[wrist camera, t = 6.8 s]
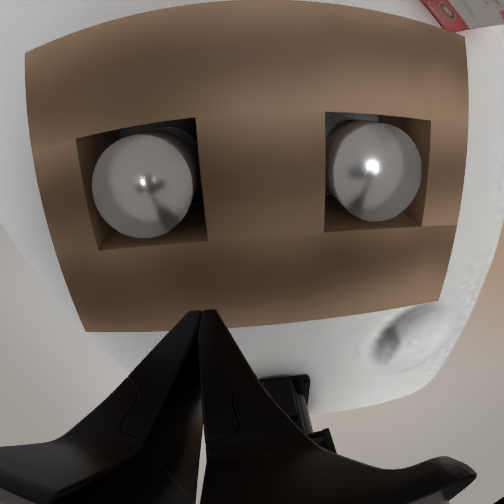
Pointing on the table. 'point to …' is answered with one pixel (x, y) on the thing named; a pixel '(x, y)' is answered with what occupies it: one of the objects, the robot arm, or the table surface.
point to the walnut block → (249, 160)
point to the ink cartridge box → (466, 13)
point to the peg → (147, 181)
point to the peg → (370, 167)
